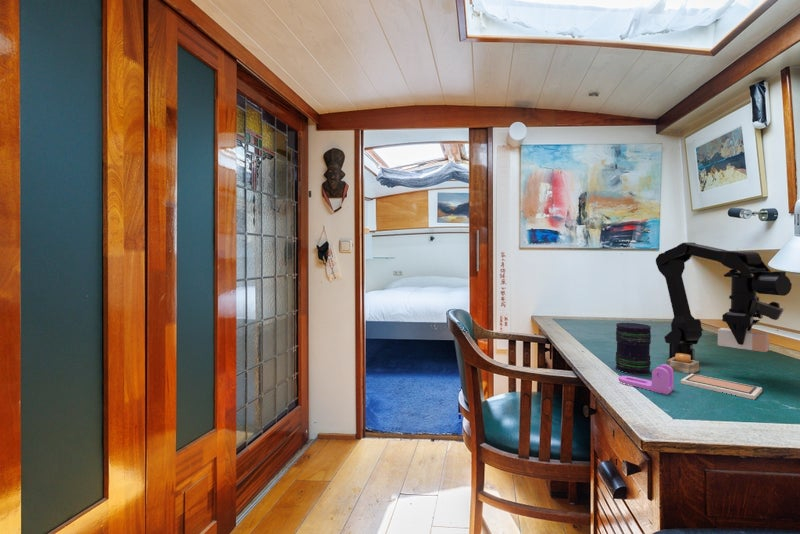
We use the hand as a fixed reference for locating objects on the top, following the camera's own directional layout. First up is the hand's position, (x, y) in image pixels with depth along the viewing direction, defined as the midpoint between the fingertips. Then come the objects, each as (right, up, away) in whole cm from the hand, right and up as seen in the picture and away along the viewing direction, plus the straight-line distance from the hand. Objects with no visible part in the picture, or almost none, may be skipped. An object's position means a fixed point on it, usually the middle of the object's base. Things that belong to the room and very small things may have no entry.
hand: (742, 343), depth 114 cm
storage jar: (-28, -11, +9) cm, 31 cm away
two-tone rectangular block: (0, -1, 0) cm, 1 cm away
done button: (-11, -9, +9) cm, 17 cm away
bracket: (-34, -12, -6) cm, 37 cm away
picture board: (-13, -11, -7) cm, 19 cm away
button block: (-11, -11, +9) cm, 18 cm away
